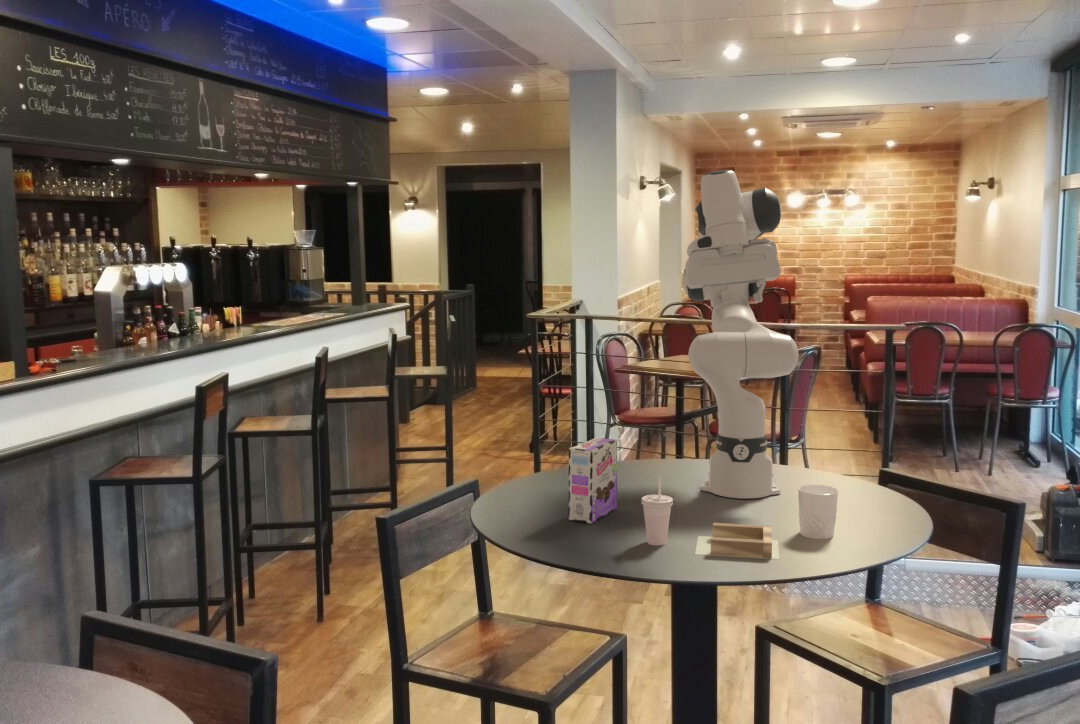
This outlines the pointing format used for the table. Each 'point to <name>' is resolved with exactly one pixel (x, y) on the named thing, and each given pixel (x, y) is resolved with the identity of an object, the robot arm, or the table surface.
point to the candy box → (592, 479)
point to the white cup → (817, 511)
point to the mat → (705, 549)
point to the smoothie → (657, 516)
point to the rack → (741, 540)
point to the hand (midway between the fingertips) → (737, 304)
